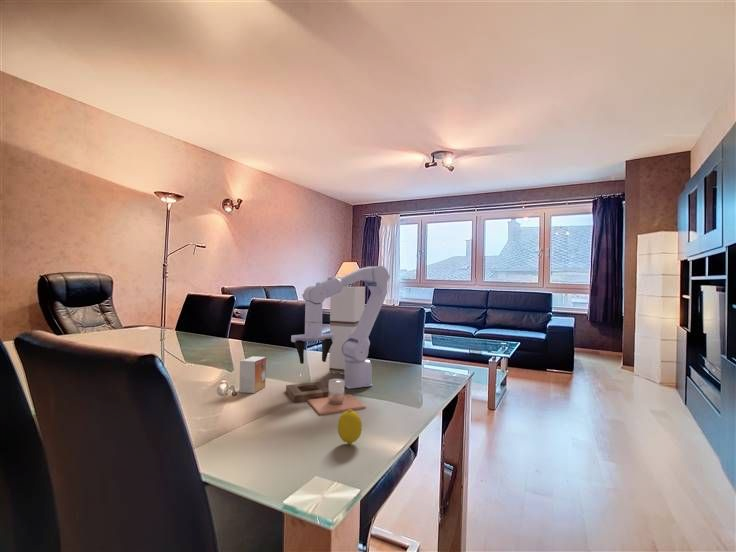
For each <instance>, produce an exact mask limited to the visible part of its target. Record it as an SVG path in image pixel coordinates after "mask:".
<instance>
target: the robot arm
mask: <svg viewBox="0 0 736 552" xmlns="http://www.w3.org/2000/svg"><path fill="white" fill-rule="evenodd" d="M390 277H391V276H390V274H389V272H388V269H387V268H386V266H383V265H378V266H377V265H376V266H370V265H369V266H364V267H361V268H358V269H356V270H355V271H352V272H349V274H346V275H344V276H342V277H340V278H339V277H336V276H328V277H327V279H326V280H324V281H321V282H316V283H315V286H314V285H310V286H307V287H306V288H305V289H304V291H303V293H302V298H303V300H304V302H305V304H304V306H305V307H304V311H305V312H304V313H305V314H304V315H305V316H304V334H303V333H302V334H293V335H291V338H290V341H291V343H294V344H293V345H294V346H295V348H296V351H297V353H298V359H299V363H300V364H301V365H304V364H305V363H304V362H305V358H304V357H305V355H304V353H305V343H304V342H310V341H311V342H312V341H321V350H322V351H321V361H322V362H323V363H325V362H327V358H328V355H329V353H330V347H331V345H332V343H333V341H332V340H335V334H333V333H331V334H330V333H323V303H324V301H325V300H326V299H328V298H330V297H331V296H333V295H335V294H337V293H339V292H341V291H342V288H343V287H348V286H349V285H351V284H354V283H357V282H359V281H363V282H364V283H365V285H366V286H367V287H368V289H369V291H370V296H369V298H368V300H367V302H366V304H365V309H364V311H363V313H362V316H361V318H360V320H359V322H358V325H357V327H356V329H355V331H354V332H353V333H352V334H350V335H349V337H348V339H347V340H346V341H345V342H344V343H343V345H342V348H341V350H342V353H343V355H344V356H345V369H344V374H343V376H344V377H343V378H344V379H343V380H344V381H345V382H344V388H346V389H347V390H348V389H357V388H366V387H373V384H372V383H373V381H372V380H373V378H372V377H373V375H372V373H373V366H372V363H371V360H369V359H368V356H369V349H370V345H371V341H370V339H369V336H370V335H371V332H372V329H373V327H374V325H375V322H376V320H377V318H378V316H379V313H380V311H381V308H382V307H383V304H384V302H385V300H386V296H387V294H388V282H389V280H390Z"/></svg>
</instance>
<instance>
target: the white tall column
mask: <svg viewBox="0 0 736 552" xmlns="http://www.w3.org/2000/svg"><path fill="white" fill-rule="evenodd" d="M329 298H330V299H329V300H330V302H329V303H330V305H329V306H330V307H329V308H330V310H329V311H330V313H329V334H331V333H333V334H335V340H332V341H333V343H332V345H331V347H330V349H329V362H328V363H329V365H328V366H329V371H328V372H334V373H333V374H335V373H343V374H342V375H344V369H345V356H344V355H343V353H342V350H341V348H342V345H343V343H344V342H345V341H346V340H347V339H348V337H349V335H350V334H352V333H353V332H354V331H355V329H356V327H357V325H358V322H359V320H360V318H361V316H362V313H363V311H364V309H365V307H366V304H365V303H366V286H344V287H343V288H342V291H341V292H339V293H337V294H335V295H333V296H331V297H329Z"/></svg>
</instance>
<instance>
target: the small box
mask: <svg viewBox="0 0 736 552" xmlns="http://www.w3.org/2000/svg"><path fill="white" fill-rule="evenodd" d="M266 367H267V357H266V356H253V355H252V356H250V357H248V358H247V357H246V358H245V359H241V360H240V361H239V388H238V389H239V391H238V392H239V393H247V394H255V393H257V392H259V391H261V390H262V389H265V388H266V379H267V378H266V376H267V375H266V374H267V371H266V370H267V368H266Z"/></svg>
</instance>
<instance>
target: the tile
mask: <svg viewBox="0 0 736 552" xmlns="http://www.w3.org/2000/svg"><path fill="white" fill-rule="evenodd" d="M307 402H308V404H309V405H310V406H311V407H312V408H313V409H314V410H315V412H316V413H317V414H318V415H319V416H322V415H329V414H335V413H344V412H345V411H348V410H349V409H351V410H352V411H355V410H363V409H366V405H365V404H363V403H362V402H361V401H359V400H358V399H357V398H355V397H354V396H353V395H352V394H344V403H343V404H341V405H331V404H329V403H328V397H325V398H318V399H310V400H308V401H307Z"/></svg>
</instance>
